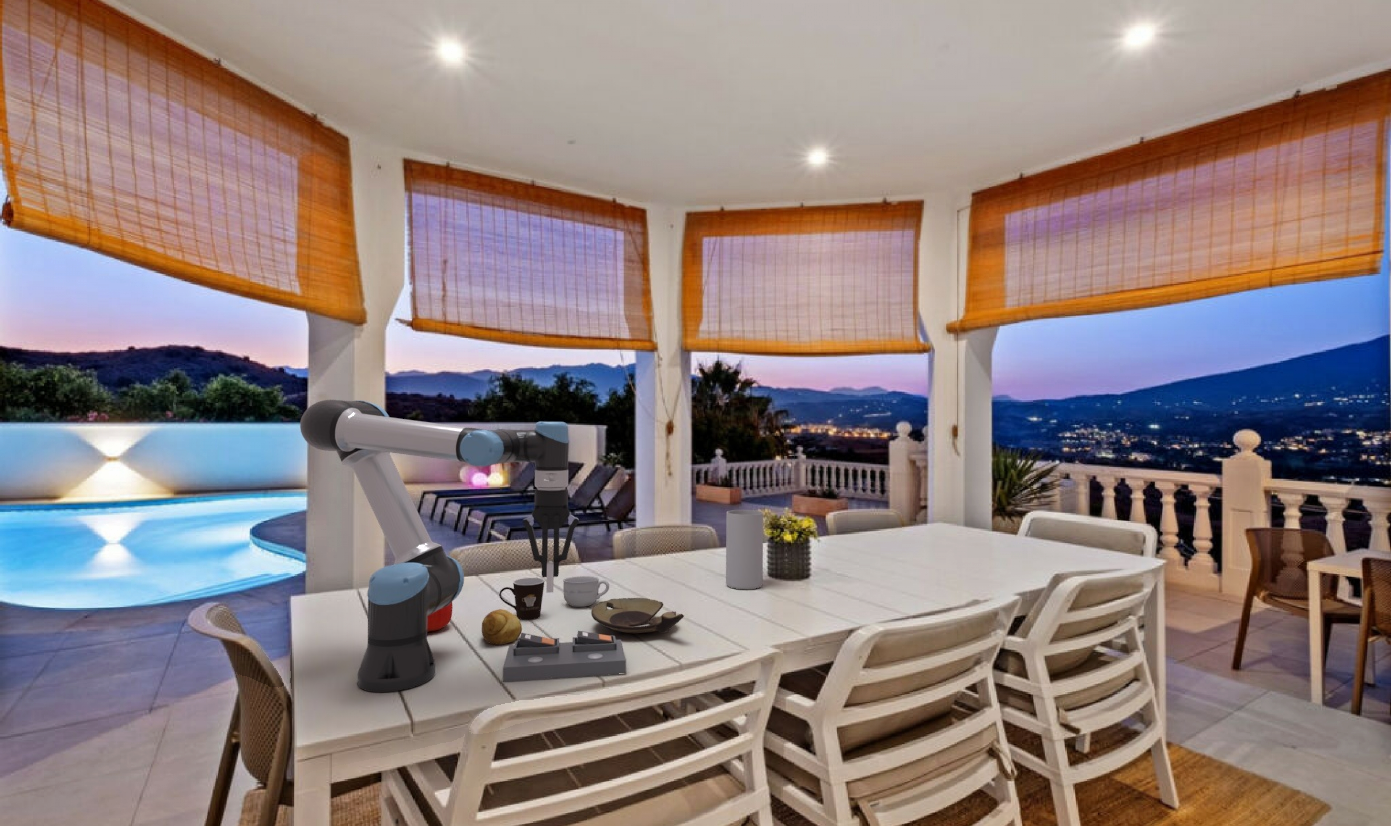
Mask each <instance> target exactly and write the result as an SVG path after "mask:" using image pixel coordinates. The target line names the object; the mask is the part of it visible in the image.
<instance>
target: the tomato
mask: <svg viewBox="0 0 1391 826" xmlns="http://www.w3.org/2000/svg"><path fill="white" fill-rule="evenodd" d="M452 616H453V601H452V602H451V603H450V604H449V605H448V606H445V607H444V608H442V609H439V610H437V611H436V612H434V613H432V614H430V615H429V616H427V633H428V632H436V631H439V630H441V629H443V628H444V627H446V626H447V625H448V624H449V623H450V622H451V620H452Z"/></svg>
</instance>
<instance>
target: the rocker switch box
mask: <svg viewBox="0 0 1391 826" xmlns="http://www.w3.org/2000/svg"><path fill="white" fill-rule="evenodd" d="M610 636H612V641H613V643H608V644H588V643H581V642H577V636H575V637H573V636H572V641H571V642H570V641H569V642H568V641H567V642H566V641H565V642H560V637H559V638H557V637H556V638H552V639H554V640H556V641H555V646H553V647H530V646H525V645H521V644H519V640H520V639H516V640H515V641H514V644H513V645H512V644H511V645H508V649H507V652H506V656H505V659H504V663H503V667H502V682H503V683H504V682H506V683H507V682H520V681H519V680H524V681H537V680H538V679H539V680H552V679H553V680H554V679H568V678H569V679H570V678H583V677H585V676H587V677H600V676H599V675H603V676H609V675H608V674H619V673H626V672H627V671H626V669H627V667H626V665H627V663H626V662H627V659H626V655H625V652H624V646H623V642H622V639H616V636H615V635H610ZM626 674H627V673H626ZM619 675H620V674H619ZM585 678H586V677H585Z"/></svg>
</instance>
